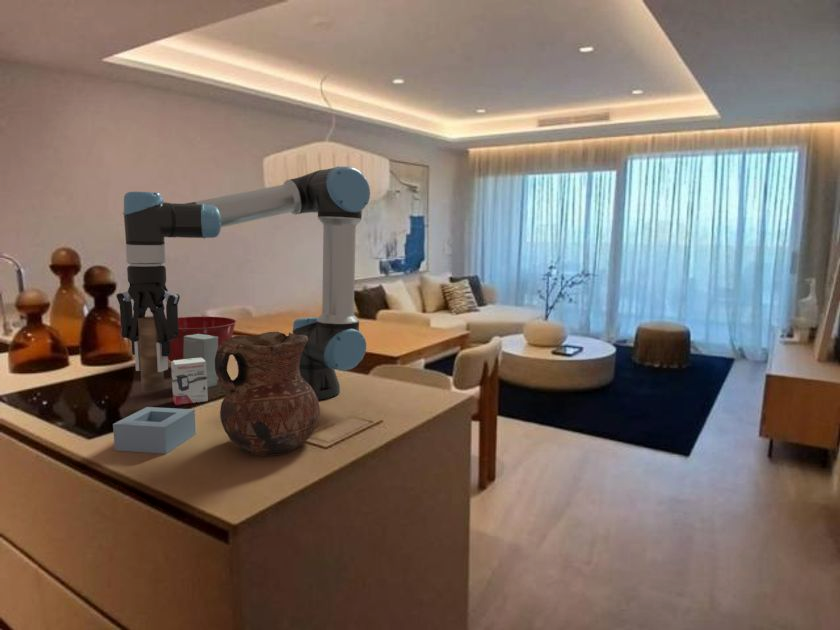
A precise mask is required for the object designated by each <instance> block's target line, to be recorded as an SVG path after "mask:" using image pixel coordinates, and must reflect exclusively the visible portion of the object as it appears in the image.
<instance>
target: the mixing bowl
mask: <svg viewBox="0 0 840 630" xmlns="http://www.w3.org/2000/svg"><path fill="white" fill-rule="evenodd" d="M166 321H167V319H166ZM236 323H237V320H236V319H234V318H231V317H230V318H229V317H223V316H182V317H179V316H178V338H175V339H172V340H171V341H170V355H169V356H167V358H168V361H170V362H171V361H174V360H182V359H183V350H184V336H187V335H194V334H203V335H210V336H216V337H218V347H219V345H220V344H221V343H222V342H223V341H225V340H226V339H228V338H230V337H233V333H234V329H235V326H236Z"/></svg>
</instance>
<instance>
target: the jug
mask: <svg viewBox="0 0 840 630" xmlns="http://www.w3.org/2000/svg"><path fill="white" fill-rule="evenodd" d="M307 342H308V337H307V336H305V335H295V334H293V332H292V333H291V332H288V335H287V334H285V333H282V332H280V331H267V332H262V333H260V334H257V335H244V334H240V335H239V334H238V335H232V337H230V338H228V339H226V340H225V341H223V342H222V343H221V344H220V345H219V347H218V350H217V352H216V356H215V371H216V375H217V381H218V382H219V383H220V384H221V386H222V389H223V390H224V391H225V396H224V398H223V400H222V402H221V404H220V410H219V417H220V421H221V425H222V427H223V430H224V432H225V434H226V435H227V436H228V438H229V440H230V441H231V442H232V443H233V444H234V445H235V446H236V447H237V448H238V449H239V450H240V451H242V452H243V453H246V454H248V455H255V456H260V457H261V456H262V457H270V456H271V455H272V456H279V454H280V455H284V454H288V453H289V452H292V451H294V450H295V449H297V448H299V447H300V446H302V445H304V443H305V442H307V441H308V440H309V439H310V438H311V436H312V435H313V433H314V432H315V429H316V428H317V425H318V422H319V419H320V416H321V415H320V414H321V413H320V412H321V408H320V403H319V402H320V401H319V400H318V399H317V396H316V394H315V392H314V390H313V389H312V387H311V386H310V385H309V384H308V383H307V382H306V381H305V380H304V379H303V378H302V377H301V375H300V370H299V364H300V357H301V354H302V351H303V349H304V347H305V345H306V343H307ZM231 355H232V356H233V357H234V360H235V362H236V363H237V370H238V372H237V376H236V377H235V378H234V379H233V380H232V379H231V376H230V375H229V373H228V372H229V371H228V364H229V361H230V356H231ZM287 452H288V453H287Z"/></svg>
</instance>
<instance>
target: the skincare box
mask: <svg viewBox="0 0 840 630" xmlns="http://www.w3.org/2000/svg"><path fill="white" fill-rule="evenodd" d="M217 350H218V337H216V336H210V335H203V334H194V335H187V336H184V350H183V359H191V358H203V359H204V360H205V361H206V372H207V389H209V388H211V387H215V386H217V385H218V377H217V375H216V371H215V356H216V352H217Z"/></svg>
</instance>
